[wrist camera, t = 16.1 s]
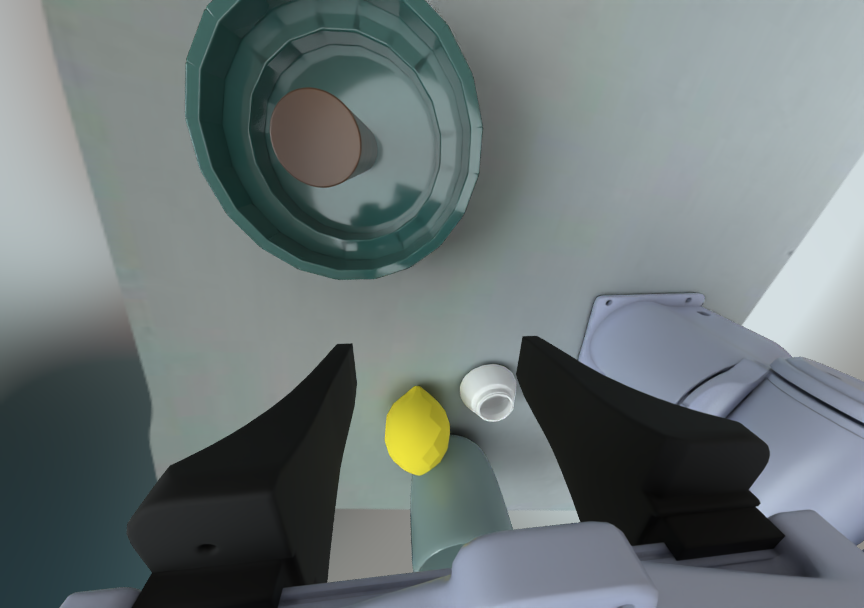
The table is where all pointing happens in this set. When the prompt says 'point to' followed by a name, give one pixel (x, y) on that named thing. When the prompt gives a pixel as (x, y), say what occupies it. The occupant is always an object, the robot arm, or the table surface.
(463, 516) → the cup
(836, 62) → the table surface
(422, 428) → the lemon
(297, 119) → the brown cylinder
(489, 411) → the lidless jar
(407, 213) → the bowl
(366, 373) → the table surface
